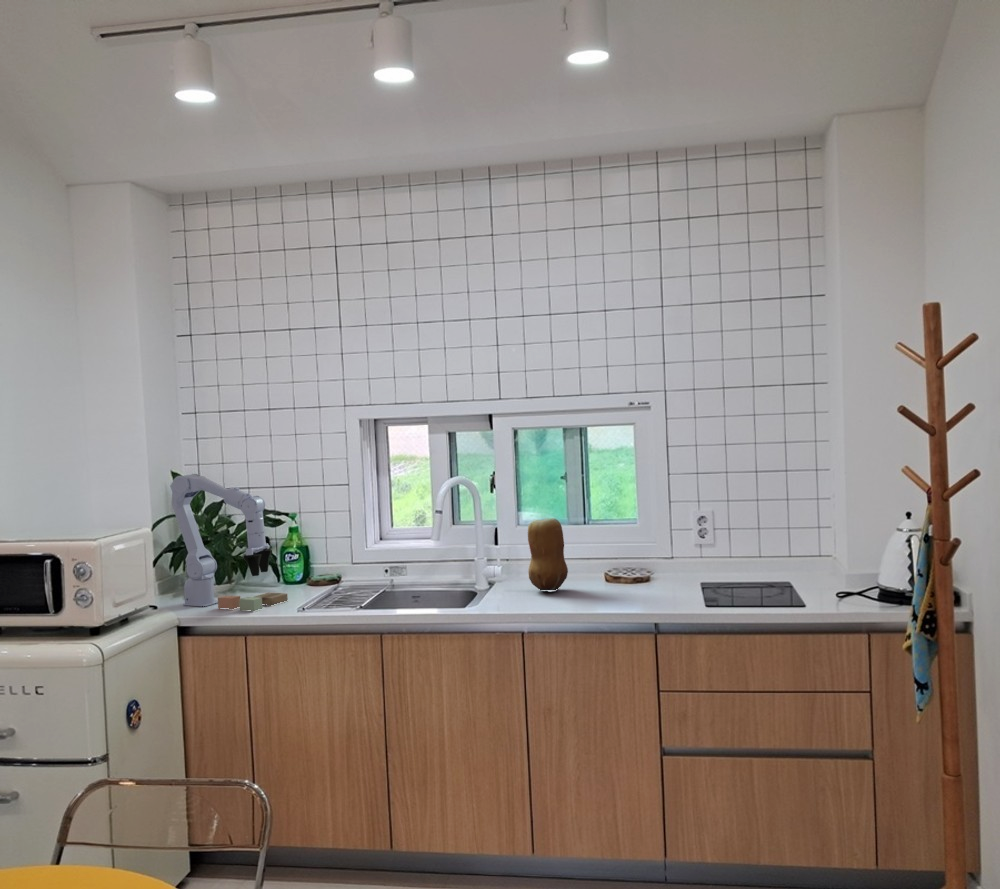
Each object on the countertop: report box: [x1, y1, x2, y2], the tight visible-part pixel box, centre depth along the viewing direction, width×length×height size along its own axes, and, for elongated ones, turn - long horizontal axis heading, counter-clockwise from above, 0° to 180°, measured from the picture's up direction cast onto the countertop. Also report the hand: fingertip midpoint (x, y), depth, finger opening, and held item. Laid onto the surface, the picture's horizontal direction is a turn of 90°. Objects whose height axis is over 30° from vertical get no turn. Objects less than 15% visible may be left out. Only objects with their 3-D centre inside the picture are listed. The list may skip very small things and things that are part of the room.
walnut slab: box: [253, 592, 288, 606], centre depth 321 cm, size 8×8×3 cm
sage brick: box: [239, 596, 263, 611], centre depth 310 cm, size 6×4×4 cm, turn 64°
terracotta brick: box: [217, 594, 241, 609], centre depth 313 cm, size 6×4×4 cm, turn 64°
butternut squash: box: [527, 518, 569, 591], centre depth 322 cm, size 14×13×25 cm
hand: (260, 573), depth 316 cm, fingers open, 7 cm apart
